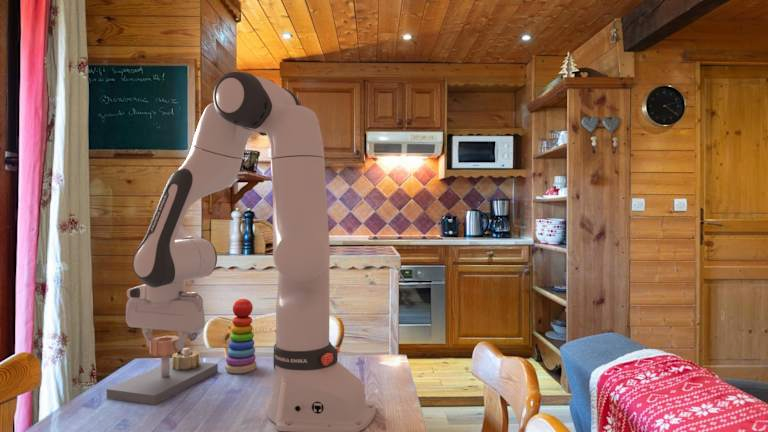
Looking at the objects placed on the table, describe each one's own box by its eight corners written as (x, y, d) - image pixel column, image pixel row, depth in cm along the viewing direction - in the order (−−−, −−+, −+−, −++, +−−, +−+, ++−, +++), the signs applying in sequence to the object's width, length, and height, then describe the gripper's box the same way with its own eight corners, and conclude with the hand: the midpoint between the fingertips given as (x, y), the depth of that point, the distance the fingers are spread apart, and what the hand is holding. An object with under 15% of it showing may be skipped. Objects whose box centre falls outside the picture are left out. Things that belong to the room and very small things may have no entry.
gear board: (217, 371, 121) (217, 346, 121) (154, 404, 99) (154, 374, 99) (175, 366, 124) (176, 342, 124) (106, 398, 103) (106, 369, 103)
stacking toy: (247, 375, 117) (247, 302, 117) (219, 373, 119) (219, 301, 119) (261, 365, 125) (262, 297, 125) (234, 363, 127) (235, 295, 127)
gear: (205, 362, 121) (205, 346, 121) (188, 370, 114) (188, 354, 114) (184, 360, 123) (184, 344, 123) (166, 368, 116) (166, 351, 116)
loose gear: (185, 348, 114) (186, 336, 114) (166, 356, 107) (166, 343, 107) (163, 346, 115) (163, 334, 115) (143, 354, 109) (143, 341, 109)
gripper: (210, 290, 112) (210, 347, 112) (141, 286, 117) (141, 340, 117) (193, 295, 105) (192, 355, 106) (121, 290, 111) (120, 347, 111)
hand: (165, 347), depth 111 cm, fingers closed on loose gear, 7 cm apart
